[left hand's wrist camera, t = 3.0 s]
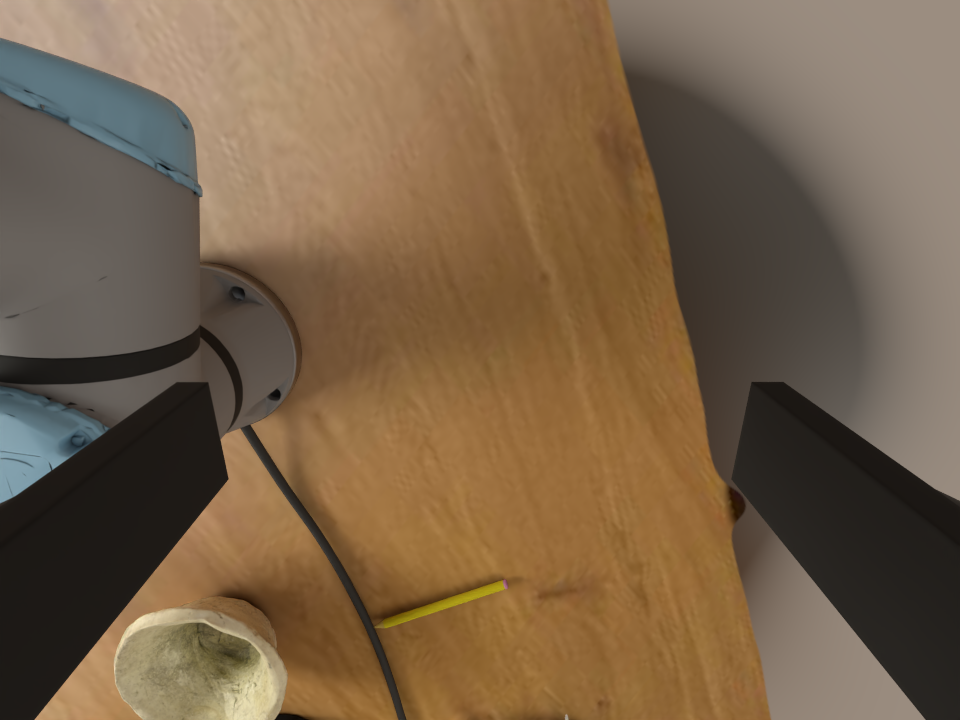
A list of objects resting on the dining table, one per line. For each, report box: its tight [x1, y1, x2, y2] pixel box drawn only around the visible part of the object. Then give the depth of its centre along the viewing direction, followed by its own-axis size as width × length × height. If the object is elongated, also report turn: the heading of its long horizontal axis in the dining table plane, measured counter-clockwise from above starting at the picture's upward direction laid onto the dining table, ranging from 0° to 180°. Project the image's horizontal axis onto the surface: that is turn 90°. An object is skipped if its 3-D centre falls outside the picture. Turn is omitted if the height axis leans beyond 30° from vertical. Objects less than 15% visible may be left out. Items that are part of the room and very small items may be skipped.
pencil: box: [374, 579, 508, 628], centre depth 57 cm, size 16×1×1 cm, turn 112°
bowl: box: [114, 596, 288, 720], centre depth 53 cm, size 14×18×15 cm
